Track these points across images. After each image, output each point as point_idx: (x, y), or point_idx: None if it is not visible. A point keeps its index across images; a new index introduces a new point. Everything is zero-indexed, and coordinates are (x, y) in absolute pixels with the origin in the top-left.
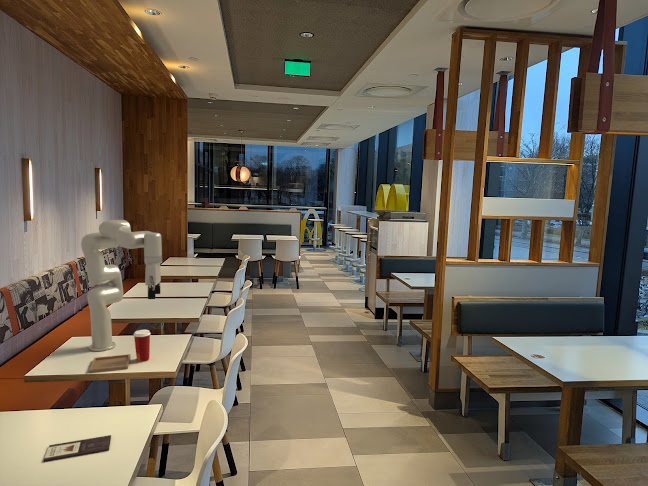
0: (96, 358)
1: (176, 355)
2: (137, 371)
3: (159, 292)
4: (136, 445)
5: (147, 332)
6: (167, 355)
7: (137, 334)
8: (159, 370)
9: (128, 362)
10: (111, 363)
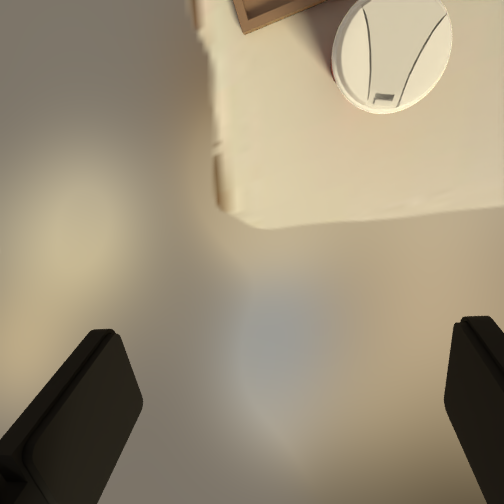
0: None
1: (399, 202)
2: (219, 97)
3: (451, 421)
4: None
5: (374, 102)
6: (405, 162)
7: (342, 37)
8: (233, 184)
9: (289, 13)
10: None
